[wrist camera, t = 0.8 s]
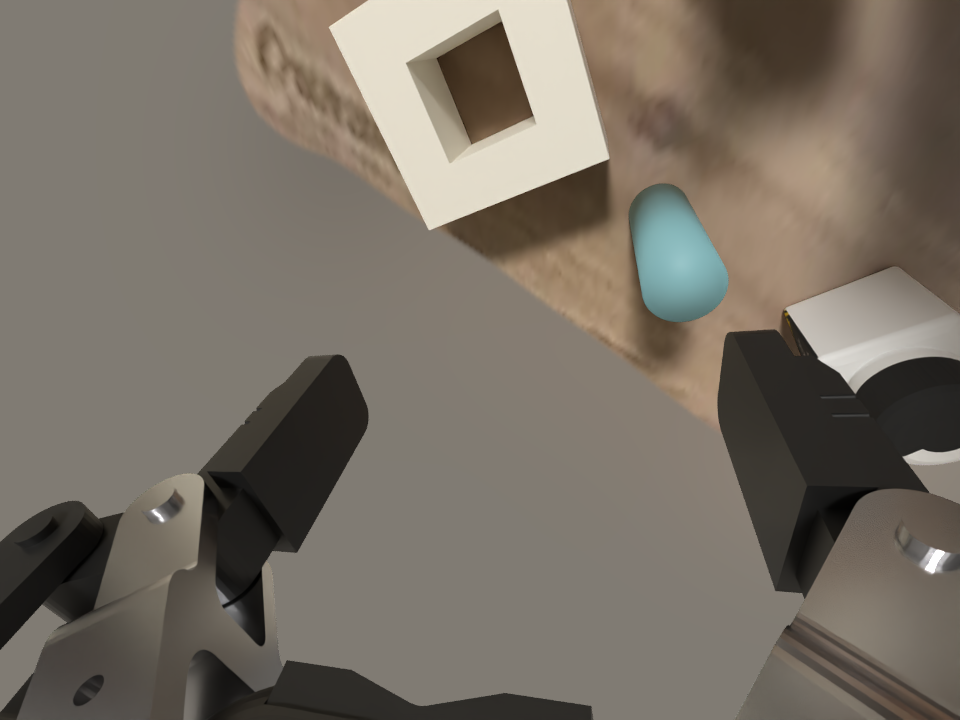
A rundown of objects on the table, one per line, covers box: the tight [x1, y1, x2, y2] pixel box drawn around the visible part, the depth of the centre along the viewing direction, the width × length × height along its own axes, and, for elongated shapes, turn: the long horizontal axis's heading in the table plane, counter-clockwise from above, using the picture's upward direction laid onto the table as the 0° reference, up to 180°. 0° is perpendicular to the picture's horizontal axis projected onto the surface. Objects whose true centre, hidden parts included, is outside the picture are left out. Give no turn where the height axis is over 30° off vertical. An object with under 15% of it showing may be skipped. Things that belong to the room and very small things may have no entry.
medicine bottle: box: [784, 266, 960, 465], centre depth 29 cm, size 7×7×12 cm
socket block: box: [329, 0, 609, 230], centre depth 27 cm, size 12×12×6 cm
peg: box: [629, 184, 728, 322], centre depth 27 cm, size 4×4×12 cm
